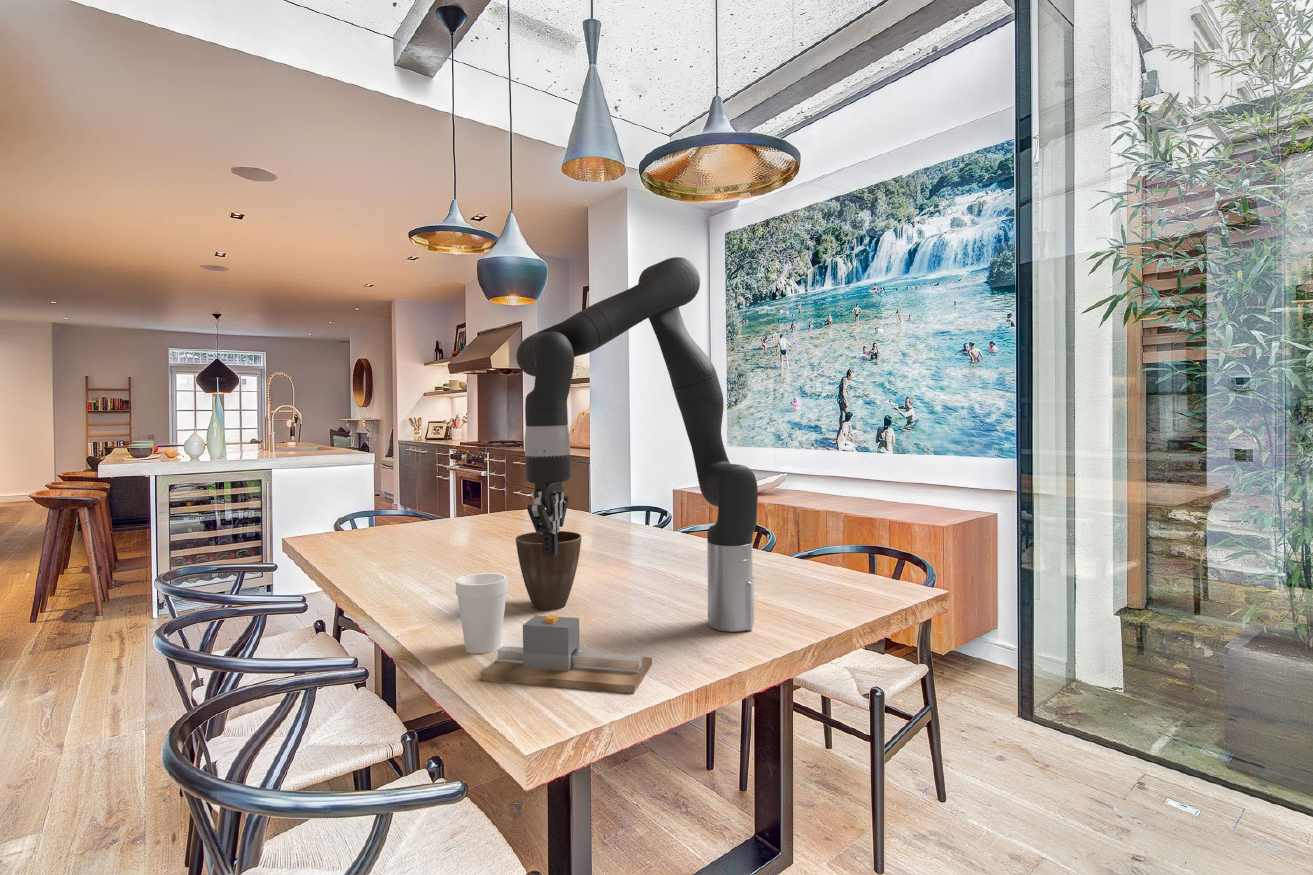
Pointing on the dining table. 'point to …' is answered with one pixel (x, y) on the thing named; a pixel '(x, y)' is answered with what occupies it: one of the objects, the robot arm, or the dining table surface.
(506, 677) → the board
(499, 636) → the foam cup
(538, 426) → the robot arm
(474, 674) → the dining table surface
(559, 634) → the block
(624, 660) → the rail
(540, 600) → the plant pot
